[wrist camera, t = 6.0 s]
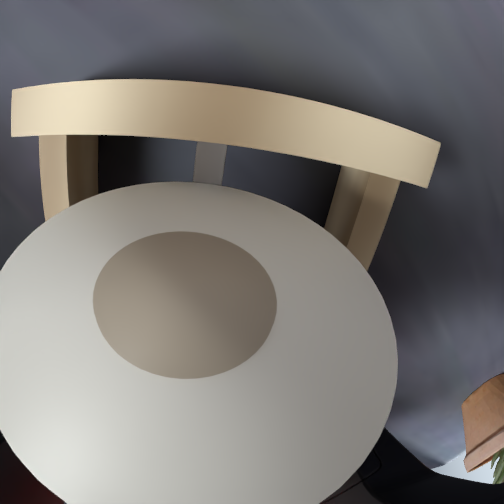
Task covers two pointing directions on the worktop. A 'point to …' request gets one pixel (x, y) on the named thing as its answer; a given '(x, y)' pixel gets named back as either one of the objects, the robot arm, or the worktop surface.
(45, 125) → the holder
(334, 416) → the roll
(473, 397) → the potted plant
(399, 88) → the worktop surface
